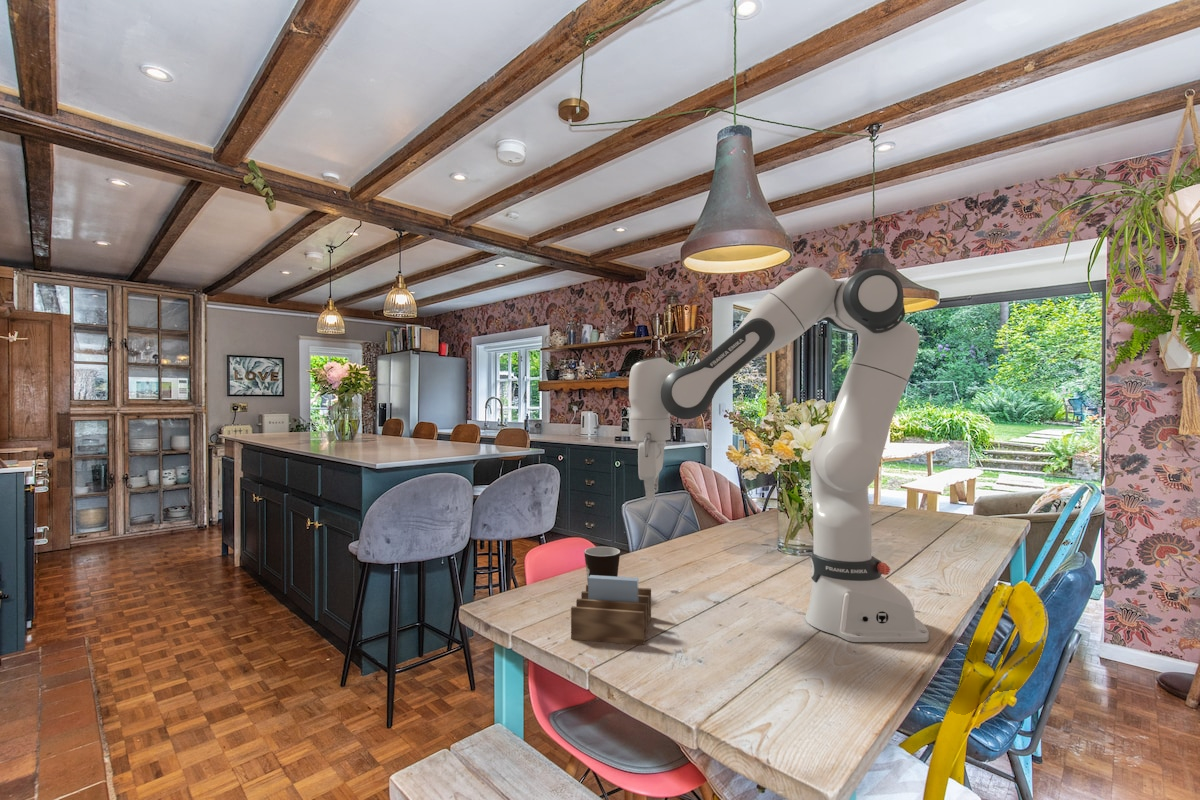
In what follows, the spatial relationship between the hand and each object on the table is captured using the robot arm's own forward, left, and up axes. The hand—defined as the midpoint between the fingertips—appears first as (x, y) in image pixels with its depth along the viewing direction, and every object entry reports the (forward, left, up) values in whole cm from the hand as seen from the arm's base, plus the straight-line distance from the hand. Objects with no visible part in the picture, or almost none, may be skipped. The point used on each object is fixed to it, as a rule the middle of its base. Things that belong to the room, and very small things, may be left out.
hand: (652, 495), depth 121 cm
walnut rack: (+7, +10, -25) cm, 28 cm away
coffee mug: (+13, -11, -26) cm, 31 cm away
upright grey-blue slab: (+7, +10, -24) cm, 27 cm away
